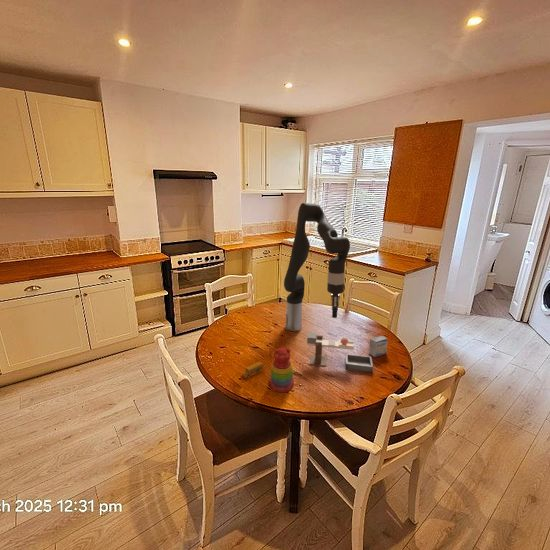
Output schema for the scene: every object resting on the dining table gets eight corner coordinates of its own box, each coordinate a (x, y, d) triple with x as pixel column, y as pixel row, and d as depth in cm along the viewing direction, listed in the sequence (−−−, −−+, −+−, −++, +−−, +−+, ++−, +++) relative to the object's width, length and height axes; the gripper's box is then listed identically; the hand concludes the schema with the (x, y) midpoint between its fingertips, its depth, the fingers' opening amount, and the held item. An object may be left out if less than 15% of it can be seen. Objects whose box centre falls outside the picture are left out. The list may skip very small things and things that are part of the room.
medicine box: (374, 357, 149) (376, 342, 146) (368, 353, 153) (369, 338, 150) (386, 353, 152) (388, 338, 150) (379, 349, 156) (381, 334, 154)
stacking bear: (293, 377, 133) (293, 342, 128) (295, 392, 124) (296, 354, 119) (269, 378, 133) (268, 342, 128) (269, 393, 123) (269, 355, 118)
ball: (340, 345, 140) (341, 339, 139) (340, 342, 143) (341, 336, 142) (347, 346, 139) (348, 340, 138) (347, 343, 142) (348, 336, 141)
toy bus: (241, 376, 135) (241, 368, 134) (259, 368, 141) (258, 360, 140) (245, 379, 133) (245, 372, 132) (263, 371, 139) (263, 363, 138)
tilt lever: (307, 345, 142) (307, 337, 141) (308, 339, 147) (308, 332, 146) (353, 350, 137) (354, 342, 136) (353, 344, 143) (353, 336, 142)
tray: (345, 369, 139) (346, 363, 138) (345, 359, 148) (345, 353, 147) (372, 372, 137) (373, 366, 136) (370, 361, 145) (371, 356, 144)
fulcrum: (309, 364, 143) (310, 342, 140) (310, 355, 151) (311, 334, 147) (326, 366, 141) (327, 343, 138) (327, 357, 149) (328, 335, 146)
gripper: (327, 277, 141) (326, 311, 145) (327, 285, 128) (325, 322, 133) (344, 277, 139) (342, 312, 144) (345, 286, 127) (343, 323, 131)
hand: (334, 317), depth 138 cm, fingers closed
